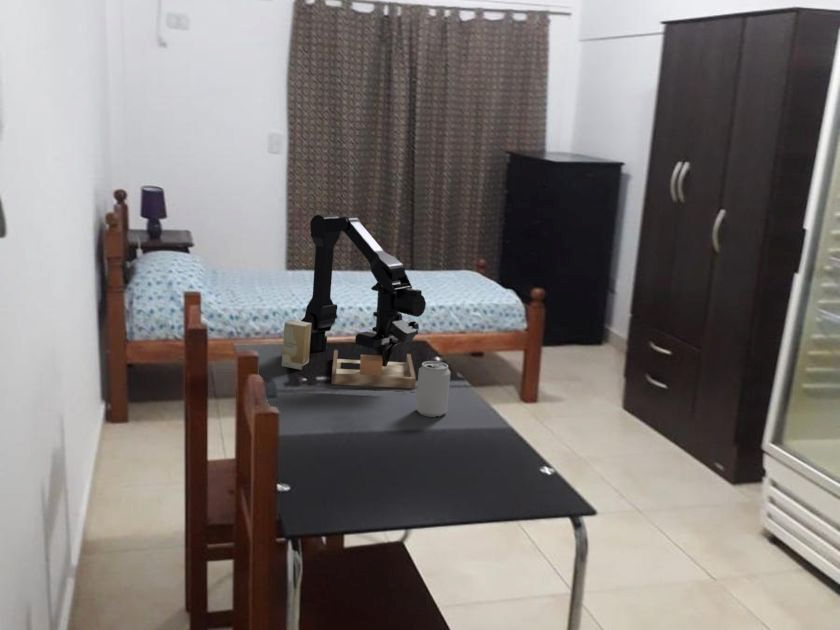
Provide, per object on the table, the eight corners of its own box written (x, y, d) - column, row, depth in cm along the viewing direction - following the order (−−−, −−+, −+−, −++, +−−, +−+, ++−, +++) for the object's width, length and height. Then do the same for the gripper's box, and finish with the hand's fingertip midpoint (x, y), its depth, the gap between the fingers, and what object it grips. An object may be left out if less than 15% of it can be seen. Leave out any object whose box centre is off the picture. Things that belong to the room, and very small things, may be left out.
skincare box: (281, 366, 229) (282, 322, 226) (288, 362, 233) (290, 319, 230) (303, 370, 227) (305, 325, 224) (309, 366, 231) (312, 322, 228)
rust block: (360, 377, 221) (361, 360, 220) (359, 370, 226) (360, 354, 225) (381, 378, 221) (382, 361, 220) (380, 371, 227) (381, 355, 226)
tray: (331, 388, 214) (331, 374, 213) (333, 363, 235) (334, 350, 235) (414, 392, 216) (415, 378, 215) (409, 366, 237) (410, 354, 236)
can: (410, 408, 204) (413, 360, 202) (438, 406, 208) (442, 358, 205) (423, 419, 198) (427, 369, 195) (452, 416, 201) (456, 367, 198)
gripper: (388, 320, 213) (385, 380, 216) (433, 310, 227) (429, 366, 231) (355, 312, 219) (352, 370, 223) (400, 302, 234) (397, 357, 237)
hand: (384, 366), depth 228 cm, fingers closed
